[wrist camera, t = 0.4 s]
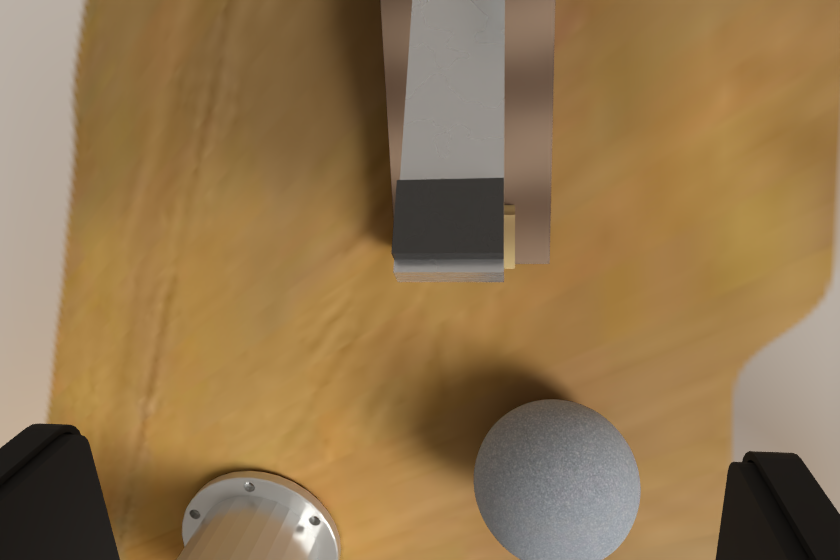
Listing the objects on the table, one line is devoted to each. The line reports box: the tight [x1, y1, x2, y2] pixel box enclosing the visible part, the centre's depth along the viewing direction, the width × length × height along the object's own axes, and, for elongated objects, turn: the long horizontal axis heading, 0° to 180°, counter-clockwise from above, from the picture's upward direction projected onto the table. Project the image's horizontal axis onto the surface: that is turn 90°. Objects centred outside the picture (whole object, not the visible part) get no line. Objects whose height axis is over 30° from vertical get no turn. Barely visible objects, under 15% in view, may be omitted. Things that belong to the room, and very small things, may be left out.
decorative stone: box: [474, 399, 640, 560], centre depth 39 cm, size 10×10×10 cm
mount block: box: [380, 0, 555, 269], centre depth 35 cm, size 19×9×5 cm, turn 3°
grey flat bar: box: [392, 0, 505, 282], centre depth 26 cm, size 17×5×2 cm
